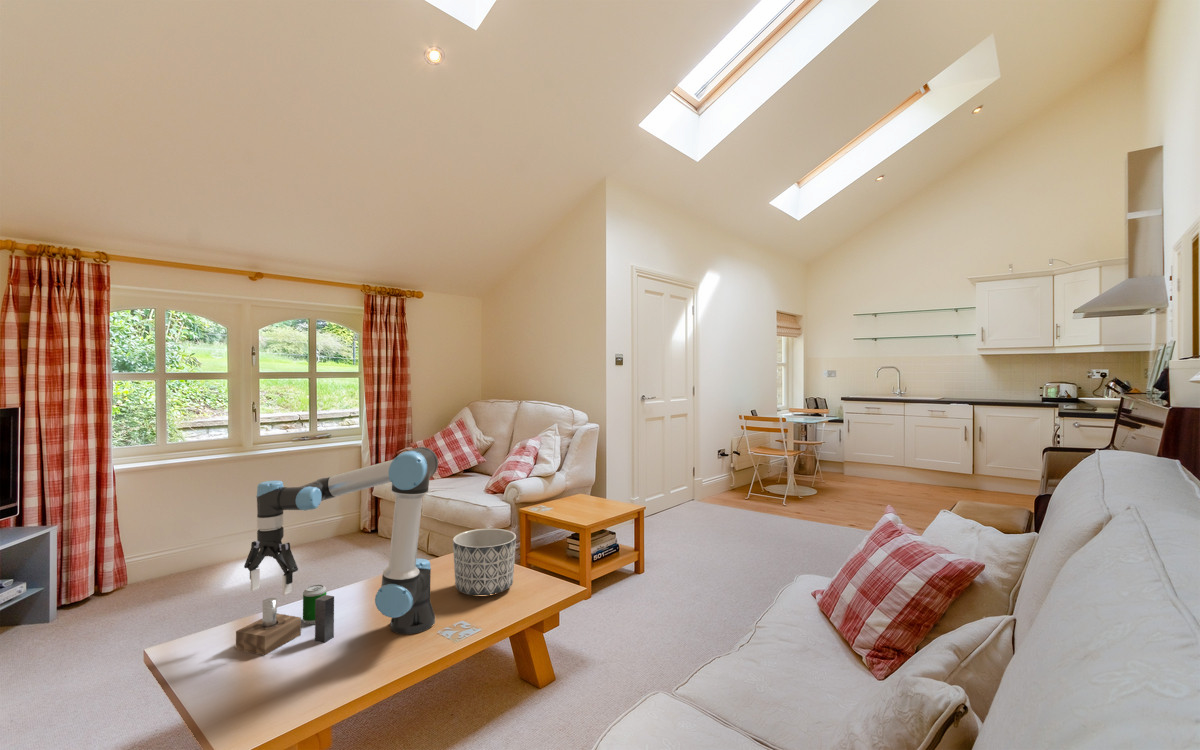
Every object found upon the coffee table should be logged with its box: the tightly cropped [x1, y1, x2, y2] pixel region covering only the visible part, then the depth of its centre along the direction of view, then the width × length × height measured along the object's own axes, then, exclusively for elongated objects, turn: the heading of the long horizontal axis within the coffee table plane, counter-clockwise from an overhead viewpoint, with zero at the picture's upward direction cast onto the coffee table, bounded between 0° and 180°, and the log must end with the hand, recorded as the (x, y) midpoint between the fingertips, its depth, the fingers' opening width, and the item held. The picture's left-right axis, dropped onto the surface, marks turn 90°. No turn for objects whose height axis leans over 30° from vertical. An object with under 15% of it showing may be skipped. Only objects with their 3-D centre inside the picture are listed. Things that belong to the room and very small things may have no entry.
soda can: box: [302, 584, 327, 625], centre depth 193 cm, size 8×8×12 cm
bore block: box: [235, 613, 302, 656], centre depth 177 cm, size 12×14×6 cm
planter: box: [452, 528, 517, 596], centre depth 223 cm, size 26×26×22 cm
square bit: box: [314, 594, 335, 644], centre depth 180 cm, size 4×4×14 cm
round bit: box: [262, 597, 278, 628], centre depth 177 cm, size 4×4×14 cm
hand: (271, 591), depth 177 cm, fingers open, 13 cm apart
